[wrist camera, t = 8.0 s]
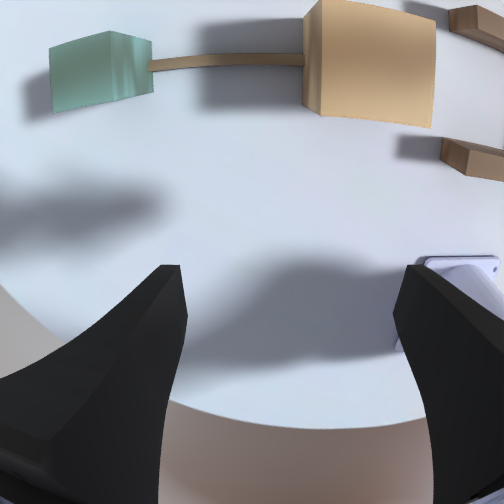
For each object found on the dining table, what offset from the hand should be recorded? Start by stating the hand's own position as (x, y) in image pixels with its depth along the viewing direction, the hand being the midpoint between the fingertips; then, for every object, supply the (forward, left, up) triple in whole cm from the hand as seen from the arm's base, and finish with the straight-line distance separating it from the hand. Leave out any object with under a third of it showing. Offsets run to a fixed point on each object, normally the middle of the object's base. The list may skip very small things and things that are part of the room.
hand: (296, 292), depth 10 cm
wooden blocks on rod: (+7, +2, -10) cm, 12 cm away
